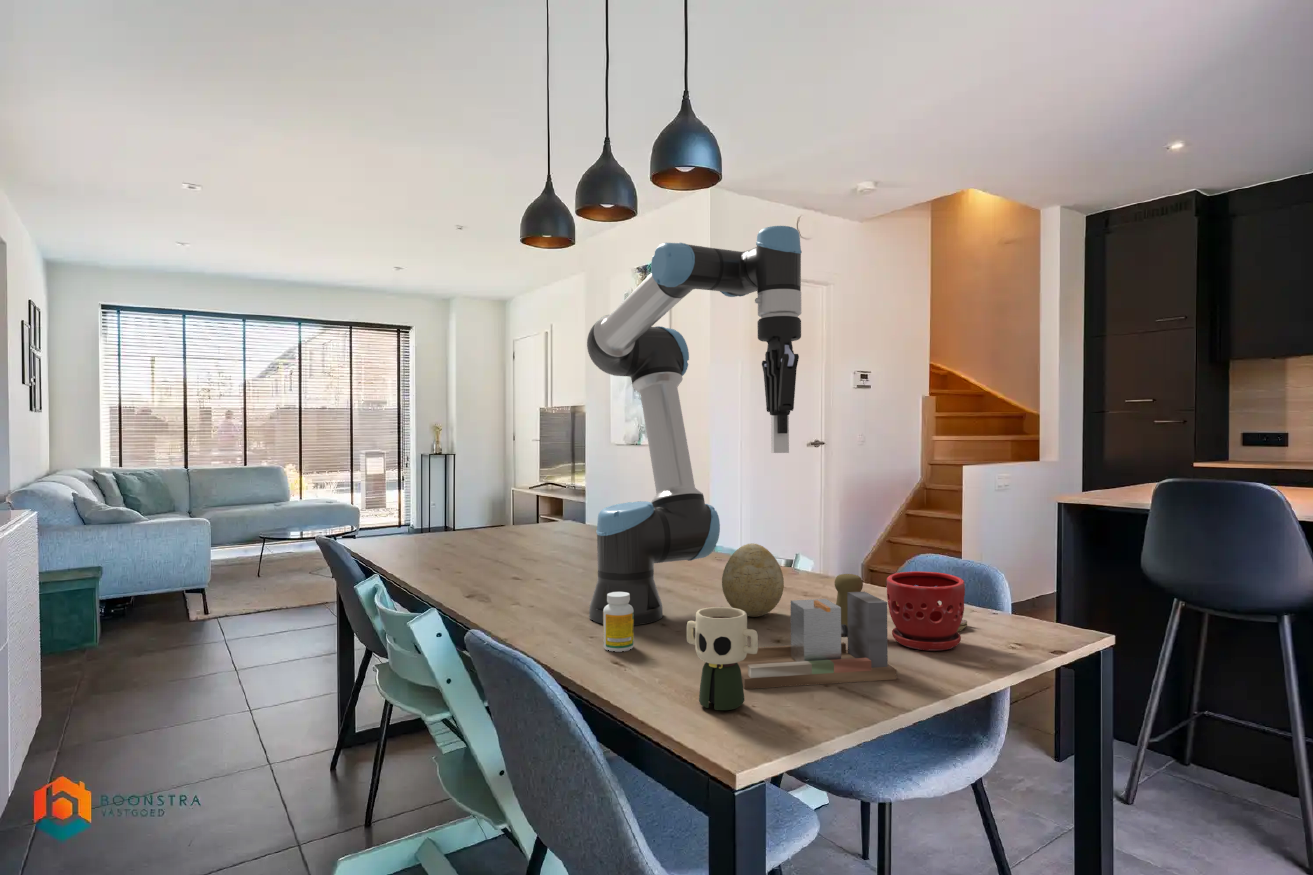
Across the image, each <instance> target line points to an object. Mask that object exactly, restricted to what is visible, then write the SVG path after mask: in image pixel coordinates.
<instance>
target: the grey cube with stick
mask: <svg viewBox="0 0 1313 875" xmlns="http://www.w3.org/2000/svg"><path fill="white" fill-rule="evenodd" d="M847 636H848V629H847V626H846V625H845V624H841V607H839V606H838V605H836V603H835V602H833V601H830V600H828V599H827V598H819V599H796V600H795V599H794V600H793V599H792V600H790V645H791V657H792V658H794V659H795V660H796V661H797V662H802V661H819V660H836V659H841V642H842V638H848V637H847Z"/></svg>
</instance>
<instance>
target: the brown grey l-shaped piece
mask: <svg viewBox="0 0 1313 875" xmlns="http://www.w3.org/2000/svg"><path fill="white" fill-rule="evenodd" d="M847 602H848V637H847V643H845V642H844V641H843V642H842V641H841V659H836V660H819V661H802V662H797V661H796V660H795V659H794V658H792V657H791V644H789V645H787V644H786V645H771V646H758V651H757V654H749V653H747V655H746V658H745V659H744V660H742V661H739V662H737V663H738V665H739V667H740V669H741V676H742V682H743V690H750V689H751V690H753V689H754V690H755V689H767V688H779V687H780V688H782V687H799V686H815V685H828V684H829V685H830V684H845V683H846V684H847V683H858V682H861V683H862V682H874V681H875V682H877V681H892V680H897V669H896V668H895V667H893V666H892V665H891V664H889V663H888V660H889V656H888V649H889V648H888V601H886V600H883V599H881V598H879V597H877V596H875V595H873V594H872V593H869V592H867V591H861V592H847ZM846 644H847V645H846ZM846 648H847V649H846Z"/></svg>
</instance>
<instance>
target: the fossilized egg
mask: <svg viewBox="0 0 1313 875" xmlns="http://www.w3.org/2000/svg"><path fill="white" fill-rule="evenodd" d="M721 576H722V578H721V588H722V592H723V595H724V597H725V599H726V602H727V603H728V604H729V606H730V608H736V609H741V610H743V611H745V612H746V614H747V617H751V618H757V617H762V616H765V615H767V614H769V613H770V612H771V611H772V610H774V609H775V608H776V606H778V604H779V603H780V600H781V599H782V596H783V593H784V587H785V582H784V574H783V570H782V568H781V566H780V564H779V562H778V560H777V559H776V558H775V556H774V555H773V554H772V552H770V550H769V549H767V548H766V547H764V546H763V545H761V544H759V543H755V542H754V543H747V544H743V545H741V547H739V548H738V549H736V550H735V551H734V552H733V553H732V554H731V556H730V557H729V558H728V560H727V562H726V564H725V566H724V569H723V572H722V575H721Z"/></svg>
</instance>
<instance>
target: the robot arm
mask: <svg viewBox="0 0 1313 875" xmlns="http://www.w3.org/2000/svg"><path fill="white" fill-rule="evenodd" d="M756 236H757V237H756V242H755V245H756V246H755V247H753V248H751V249H748V250H746V251H745V250H744V251H738V250H732V249H722V248H715V247H708V246H702V245H701V246H700V245H696V244H694V245H693V244H687V243H684V242H663V243H660V244H659V245H658V246H657V247H656V248H655V250H654V254H653V255H652V257H651V264H650V274H648V275H647V276H646V277H645V279H643V281H641V282H640V284H639V285H637V287H636V288H634V290H633V291H632V292H631V293H630V294H629V295H628V296H627V297H626V298H625V299H624V300H623V301H622V302H621V303H620V304H619V305H618V306H617V307H616V308H615V309H614V310H613V312H611V313H610V314H606V315H603V316H601V317H600V318H599V319H598V320H597V321H595V323H594V324H593V325H592V326H591V328H590V330H589V332H588V335H587V338H586V349H587V353H588V356H589V358H590V360H591V361H592V362H593V364H594V365H595V367H597V368H598V369H599V370H600V371H602V372H603V373H606V374H608V375H611V376H614V377H629V378H631V387H632V389H633V390H635V391H636V392H638V393H639V394H640V400H641V407H642V413H643V418H644V424H645V425H644V426H645V431H646V438H647V443H648V450H649V456H650V462H651V466H652V469H651V470H652V474H653V480H654V487H655V492H656V494H655V496H654V497H653V499H652V500H651V501H641V500H640V501H633V502H632V501H629V502H628V501H627V502H623V503H617V504H612V505H609V506H606V507H604V508H602V509H601V510H600V511H599V512H598V516H597V525H596V530H595V531H596V532H595V533H596V543H597V550H596V551H597V553H596V554H597V557H596V558H597V581H596V584H595V587H594V588H595V589H594V591H593V594H592V598H591V600H590V603H589V604H590V605H589V607H588V608H589V611H588V613H589V616H588V617H589V620H591V621H592V620H593V622H595V623H599V624H602V625H603V610H604V607H605V606H606V605H608V604H609V603H608V602H607V594H608V593H612V592H627V593H629V594H630V601H629V603H628V604H629V605H631V606H632V607H633V611H634V625H633V626H635V625H638V626H640V625H646V624H650V623H654V622H657V621H659V620H661V619H662V618H663V603H662V601H661V597H660V594H659V591H658V589H657V585H656V582H655V576H654V575H655V574H654V568H655V564H662V563H670V562H679V561H681V562H682V561H690V562H692V561H694V560H697V559H698V560H699V559H704V558H706V557H709V556H710V555H711V554H712V553H713V552H714V550H715V548H716V547H717V544H718V542H719V538H720V532H721V531H720V530H721V524H720V517H719V515H718V512H717V510H716V509H715V507H714V506H713V505H711V504H709V503H705V502H706V501H705V497H704V493H703V492H701V491H700V490H699V489H697V488H696V486H695V485H696V484H695V480H694V474H693V469H692V467H693V466H692V463H691V458H690V451H689V445H688V439H687V435H686V428H685V423H684V417H683V412H682V405H681V400H680V394H679V390H678V388H679V385H681V383H682V381H683V376H684V375H685V374H686V372H687V370H688V368H689V363H688V361H689V360H690V353H689V347H688V344H687V342H686V340H685V337H684V336H683V335H682V333H680V332H679V331H678V330H676V329H673V328H669V327H663V326H659V325H658V326H654V325H655V324H656V323H657V322H658V321H659V320H660V319H662V317H663V318H664V316H665V315H666V314H667V313H668V312H670V311H671V309H673V308H674V307H675V306H676V305H677V304H678V303H679V302H681V301H682V300H683V298H685V297H686V296H687V295H688V294H690V293H692V291H693V290H703V291H704V290H705V291H712V292H713V291H714V292H719V293H721V294H723V295H724V296H726V297H728V298H736V297H744V296H746V295H750V294H751V293H754V292H756V293H757V297H755V299H754V303H755V304H757V316H759V317H760V318H759V319H758V320H757V339H758V341H760V342H766V343H767V349H766V352H765V354H764V355H765V358H764V359H765V360H762V362H761V367H762V372H763V380H764V392H765V406H766V408H765V410H766V412H767V413H769V416H770V436H771V437H770V440H771V441H770V442H771V444H770V446H771V448H770V452H771V454H789V453H790V451H789V450H790V447H789V446H790V443H789V442H790V440H789V439H790V434H789V433H790V428H789V424H790V423H789V422H790V421H789V418H790V417H789V415H790V414H791V411H792V412H793V411H794V408H795V398H796V397H795V394H796V381H797V371H798V370H797V367H798V365H799V359H800V356H799V353H795V352H794V350H793V349H794V348H793V343H792V342H796V341H799V340H800V339H801V338H802V319H801V318H800V317H799V316H801V315H802V291H801V290H802V287H801V286H802V283H801V282H802V280H801V279H802V270H801V269H802V268H801V267H802V264H801V263H802V260H801V259H802V248H801V247H802V246H801V235H800V231H799V230H798V229H796V228H795V227H792V226H788V225H772V226H771V225H770V226H767V227H763V228H762V229H760V230H759V232H758V233H757V234H756Z"/></svg>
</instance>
